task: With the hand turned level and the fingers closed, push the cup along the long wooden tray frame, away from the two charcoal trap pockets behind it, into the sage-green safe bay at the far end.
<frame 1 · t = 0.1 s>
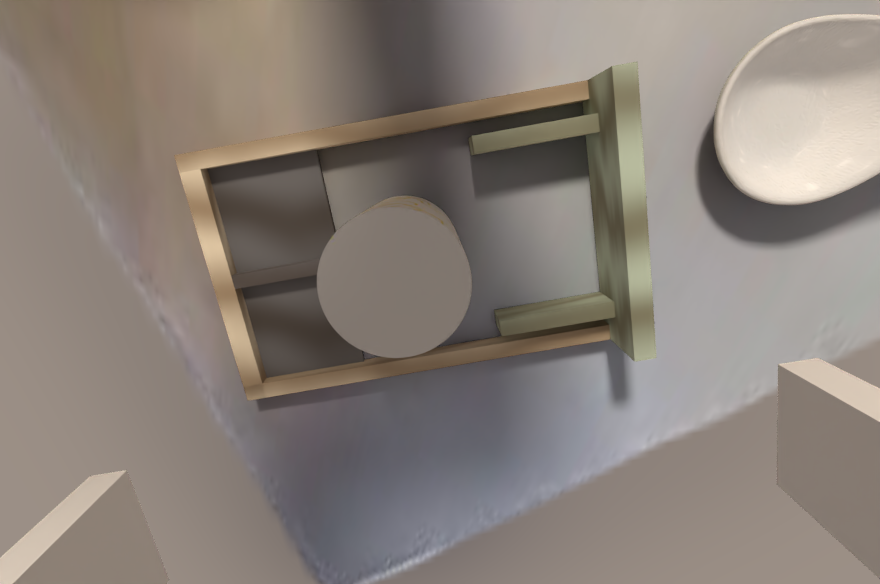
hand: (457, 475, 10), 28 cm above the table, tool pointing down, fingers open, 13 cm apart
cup: (406, 248, 37), resting in wooden tray frame
spoon rest: (848, 95, 35), on the table
wooden tray frame: (393, 251, 37), on the table
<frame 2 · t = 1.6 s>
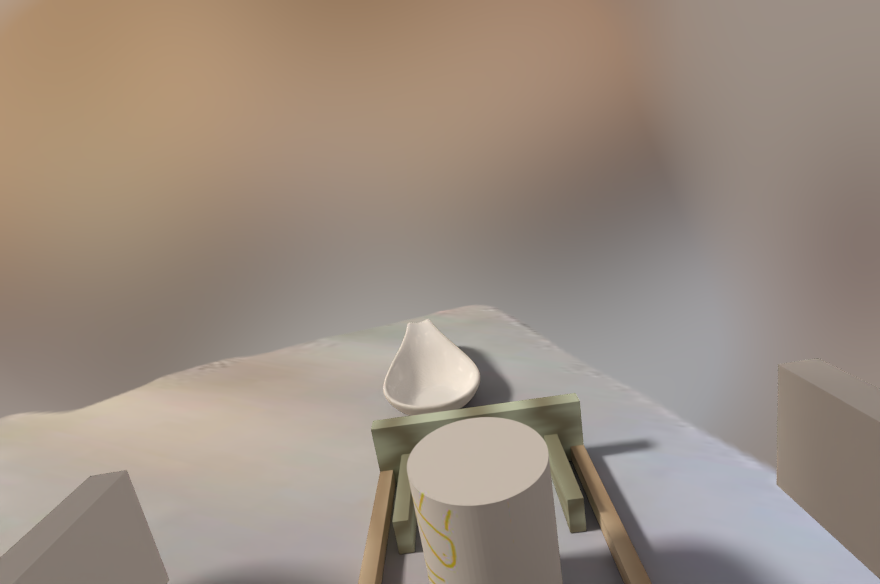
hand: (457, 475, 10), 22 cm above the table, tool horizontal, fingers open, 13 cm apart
spoon rest: (430, 386, 64), on the table
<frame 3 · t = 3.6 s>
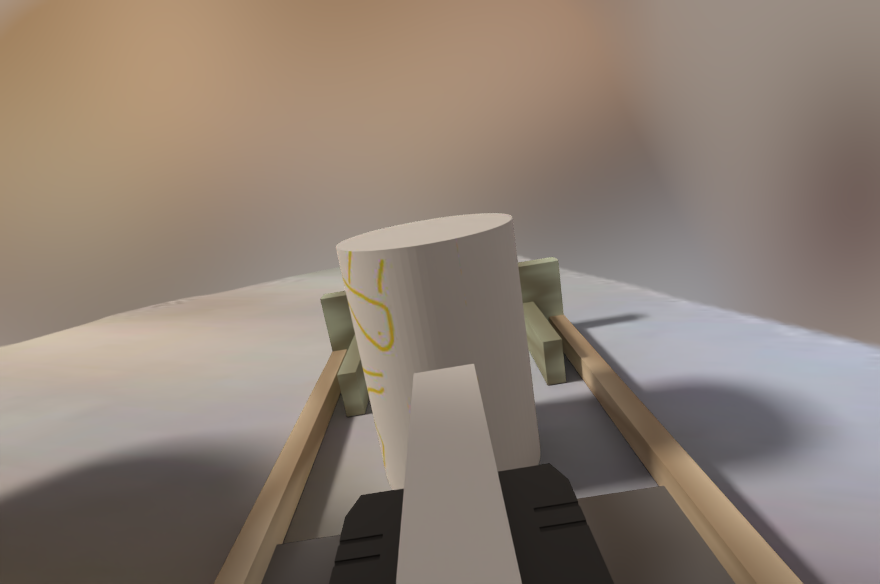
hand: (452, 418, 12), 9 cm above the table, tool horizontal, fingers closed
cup: (462, 457, 25), resting in wooden tray frame
wooden tray frame: (463, 465, 24), on the table
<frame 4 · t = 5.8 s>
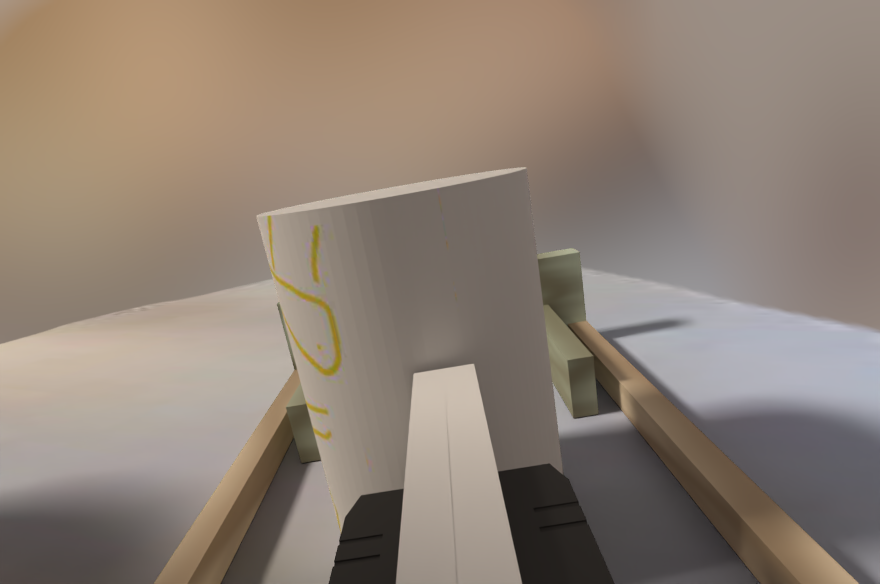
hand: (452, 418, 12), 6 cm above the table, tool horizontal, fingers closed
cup: (456, 520, 18), resting in wooden tray frame, touching gripper
wooden tray frame: (458, 553, 16), on the table
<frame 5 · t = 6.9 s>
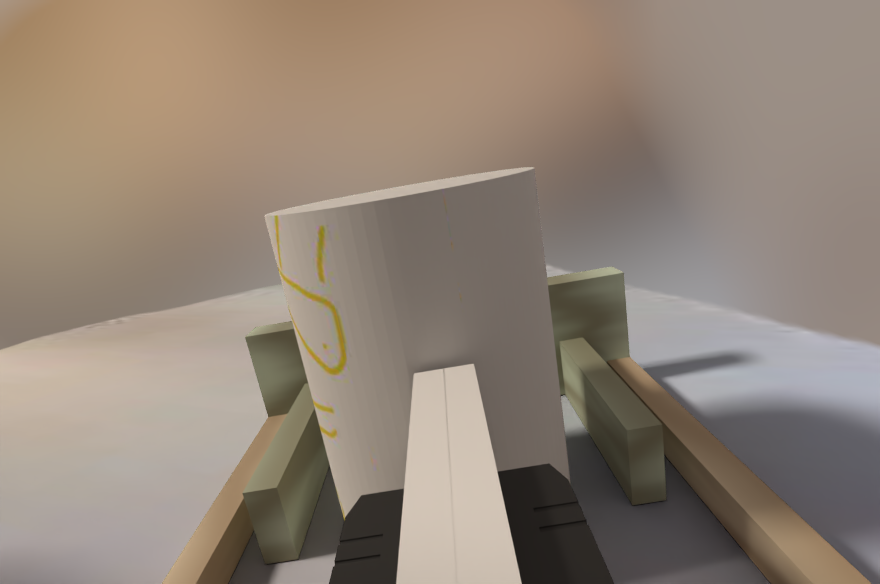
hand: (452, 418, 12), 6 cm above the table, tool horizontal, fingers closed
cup: (462, 519, 18), resting in wooden tray frame, touching gripper
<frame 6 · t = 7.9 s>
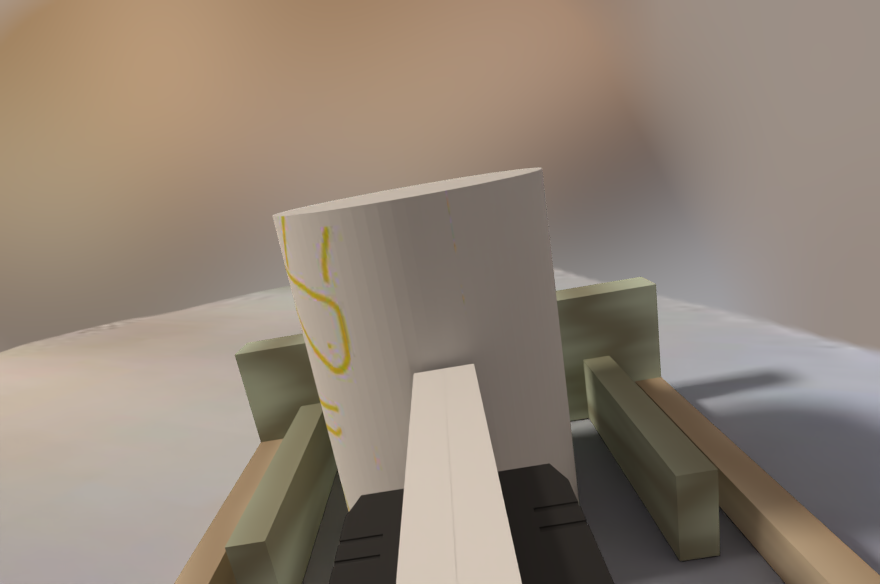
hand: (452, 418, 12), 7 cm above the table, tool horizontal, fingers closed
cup: (468, 520, 18), resting in wooden tray frame, touching gripper
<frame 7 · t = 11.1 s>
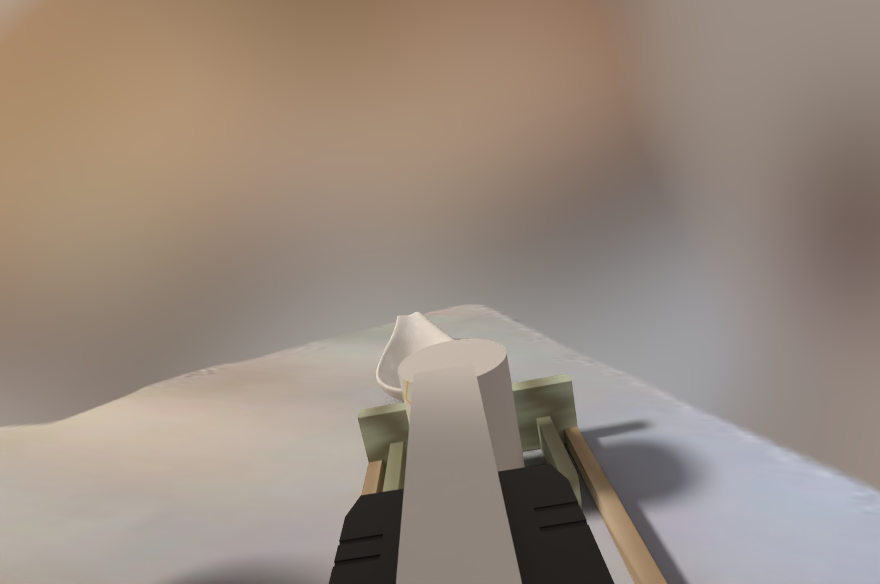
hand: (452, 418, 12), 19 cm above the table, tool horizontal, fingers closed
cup: (478, 499, 38), resting in wooden tray frame
spoon rest: (422, 376, 64), on the table
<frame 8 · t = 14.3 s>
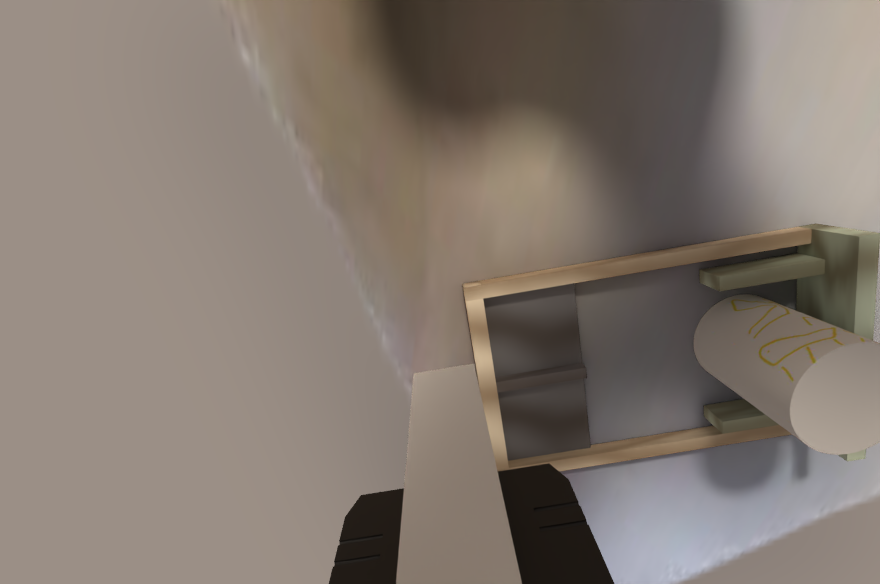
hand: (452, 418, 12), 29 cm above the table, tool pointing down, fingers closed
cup: (736, 336, 43), resting in wooden tray frame
wooden tray frame: (624, 358, 43), on the table
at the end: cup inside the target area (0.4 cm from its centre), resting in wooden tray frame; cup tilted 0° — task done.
